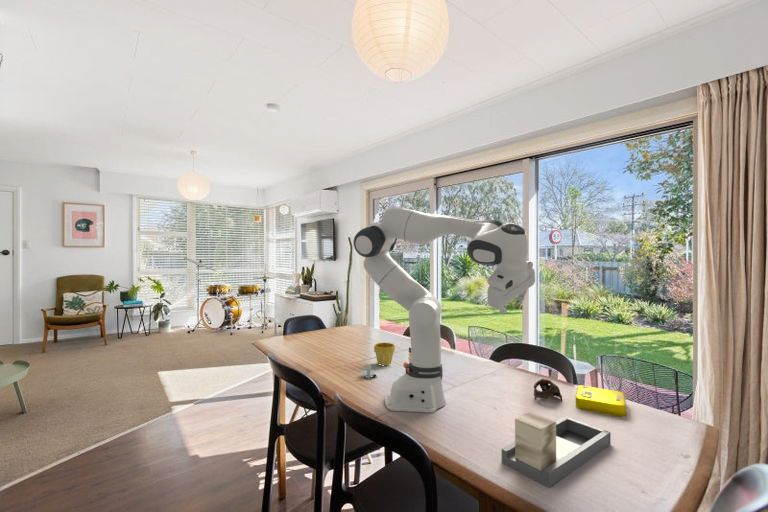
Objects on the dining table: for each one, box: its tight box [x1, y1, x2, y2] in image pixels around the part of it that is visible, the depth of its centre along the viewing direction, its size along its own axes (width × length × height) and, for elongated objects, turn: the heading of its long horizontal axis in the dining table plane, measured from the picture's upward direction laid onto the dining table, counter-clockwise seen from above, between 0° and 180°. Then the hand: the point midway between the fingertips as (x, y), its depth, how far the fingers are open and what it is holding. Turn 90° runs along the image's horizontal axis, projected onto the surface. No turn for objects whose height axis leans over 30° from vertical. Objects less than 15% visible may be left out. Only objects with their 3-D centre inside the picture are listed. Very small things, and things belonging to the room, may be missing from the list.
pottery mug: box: [533, 378, 563, 402], centre depth 136 cm, size 12×10×8 cm
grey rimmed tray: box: [500, 415, 612, 489], centre depth 98 cm, size 32×13×4 cm, turn 126°
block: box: [514, 411, 556, 471], centre depth 91 cm, size 7×7×10 cm
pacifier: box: [361, 363, 377, 378], centre depth 161 cm, size 7×6×6 cm
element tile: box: [575, 384, 627, 418], centre depth 129 cm, size 15×15×5 cm
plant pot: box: [373, 342, 396, 366], centre depth 180 cm, size 10×10×10 cm
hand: (512, 306), depth 122 cm, fingers open, 8 cm apart
